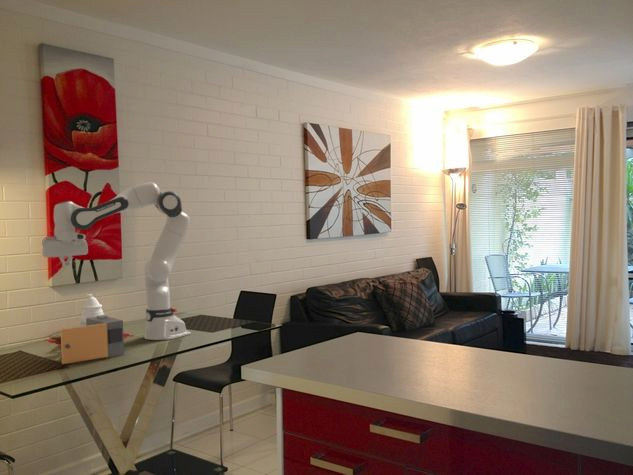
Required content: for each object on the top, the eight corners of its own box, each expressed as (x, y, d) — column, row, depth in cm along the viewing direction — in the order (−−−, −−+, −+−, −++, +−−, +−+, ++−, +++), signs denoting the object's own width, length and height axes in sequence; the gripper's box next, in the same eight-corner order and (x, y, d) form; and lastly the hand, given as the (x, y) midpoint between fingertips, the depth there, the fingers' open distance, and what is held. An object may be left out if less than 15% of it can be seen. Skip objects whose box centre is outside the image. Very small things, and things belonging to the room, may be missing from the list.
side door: (61, 363, 244) (60, 329, 243) (106, 356, 255) (105, 323, 254) (63, 364, 242) (62, 330, 241) (108, 357, 252) (107, 324, 252)
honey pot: (97, 330, 315) (95, 296, 314) (75, 329, 317) (73, 295, 316) (110, 325, 327) (109, 292, 326) (88, 324, 330) (87, 292, 329)
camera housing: (104, 348, 273) (103, 313, 272) (125, 355, 260) (124, 318, 259) (87, 351, 267) (86, 315, 266) (107, 358, 254) (106, 321, 253)
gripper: (44, 237, 270) (46, 268, 271) (88, 235, 285) (89, 264, 286) (39, 237, 275) (40, 267, 275) (82, 235, 289) (84, 263, 290)
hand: (66, 265), depth 281 cm, fingers closed
